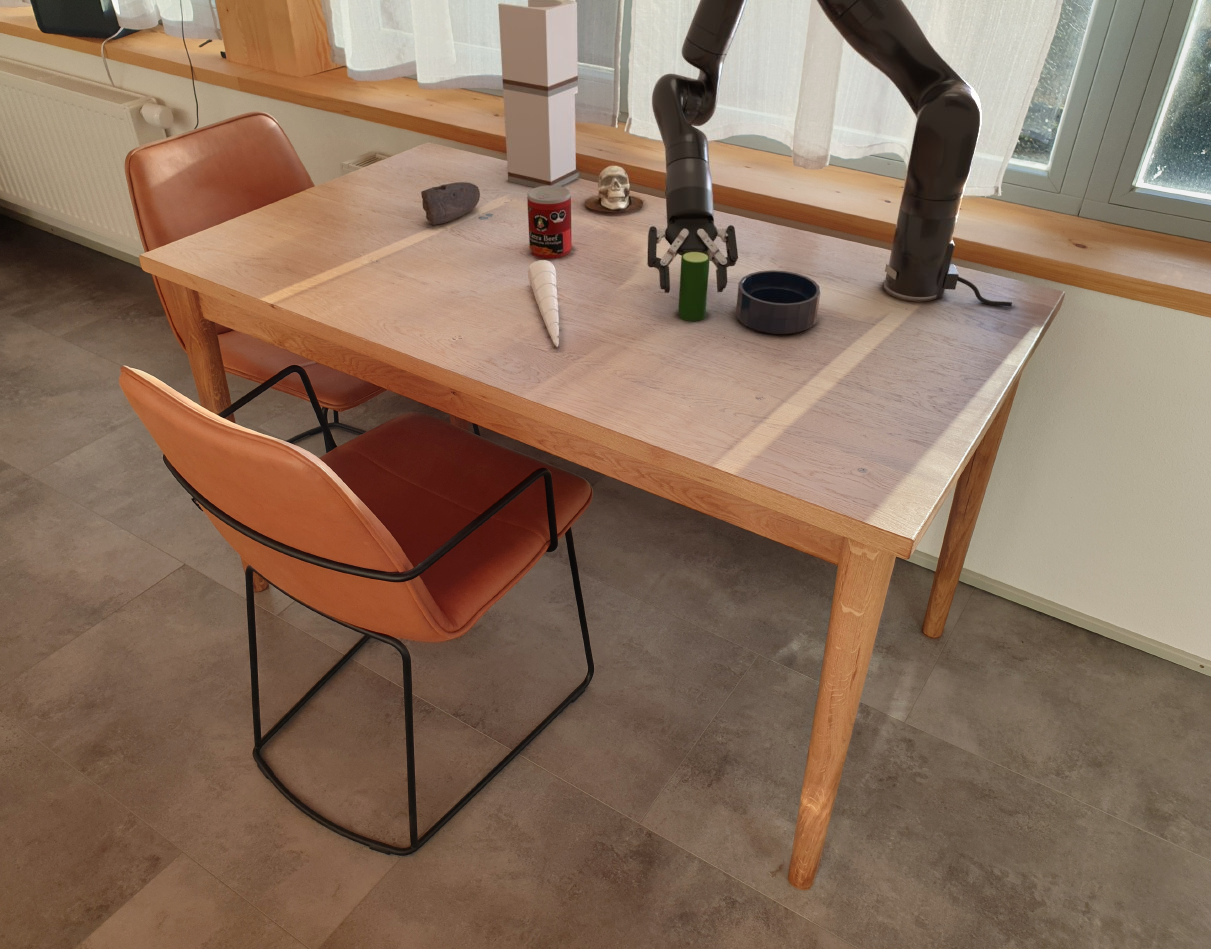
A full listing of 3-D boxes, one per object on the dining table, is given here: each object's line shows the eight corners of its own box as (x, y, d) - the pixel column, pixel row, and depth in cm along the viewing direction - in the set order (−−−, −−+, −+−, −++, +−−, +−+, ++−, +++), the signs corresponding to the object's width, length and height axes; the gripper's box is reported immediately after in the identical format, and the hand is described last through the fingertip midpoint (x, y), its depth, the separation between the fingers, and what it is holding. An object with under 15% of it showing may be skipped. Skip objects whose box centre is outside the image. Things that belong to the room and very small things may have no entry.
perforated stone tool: (472, 204, 192) (469, 171, 188) (489, 210, 189) (487, 176, 185) (415, 225, 183) (411, 190, 179) (432, 231, 180) (429, 196, 176)
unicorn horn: (532, 350, 142) (531, 322, 139) (528, 285, 161) (527, 258, 158) (563, 349, 142) (563, 321, 140) (555, 284, 162) (555, 257, 159)
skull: (650, 210, 187) (616, 173, 182) (611, 243, 191) (577, 207, 186) (647, 187, 196) (614, 151, 191) (610, 219, 200) (577, 185, 196)
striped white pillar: (578, 177, 206) (576, 1, 185) (551, 191, 199) (545, 10, 178) (536, 168, 211) (530, -4, 190) (508, 181, 204) (498, 4, 183)
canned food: (522, 255, 171) (519, 196, 165) (541, 240, 177) (539, 182, 171) (560, 262, 169) (559, 203, 162) (578, 246, 175) (577, 188, 168)
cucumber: (705, 310, 154) (710, 252, 148) (704, 322, 150) (709, 263, 144) (678, 308, 154) (682, 250, 148) (677, 320, 150) (680, 261, 145)
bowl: (813, 303, 156) (817, 272, 153) (818, 339, 146) (823, 307, 142) (735, 299, 157) (738, 268, 154) (735, 334, 147) (738, 302, 143)
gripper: (647, 184, 147) (651, 283, 144) (737, 183, 147) (743, 281, 145) (643, 205, 154) (647, 299, 152) (728, 204, 155) (734, 298, 152)
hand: (694, 290), depth 148 cm, fingers open, 8 cm apart
